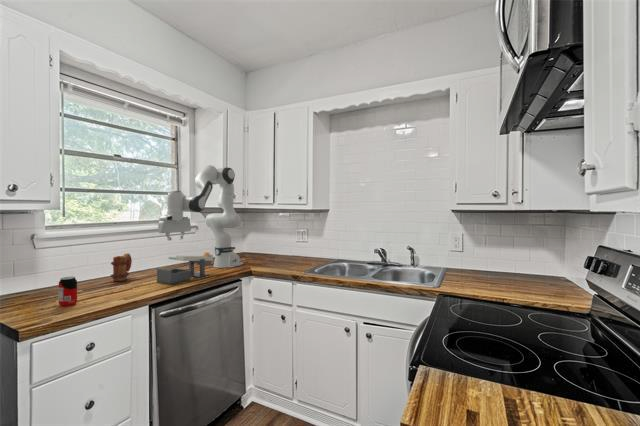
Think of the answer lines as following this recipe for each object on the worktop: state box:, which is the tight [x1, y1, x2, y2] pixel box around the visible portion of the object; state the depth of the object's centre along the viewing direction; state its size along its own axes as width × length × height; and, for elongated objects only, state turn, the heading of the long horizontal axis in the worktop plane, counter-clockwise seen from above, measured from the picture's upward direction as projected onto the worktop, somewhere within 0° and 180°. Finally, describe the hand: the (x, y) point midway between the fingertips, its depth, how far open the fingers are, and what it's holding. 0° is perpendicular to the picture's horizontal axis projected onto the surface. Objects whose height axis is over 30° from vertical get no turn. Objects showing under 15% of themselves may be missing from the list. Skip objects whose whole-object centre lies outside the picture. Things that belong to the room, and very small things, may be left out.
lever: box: [168, 254, 215, 266], centre depth 197 cm, size 22×16×6 cm
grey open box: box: [156, 267, 191, 286], centre depth 182 cm, size 13×13×8 cm
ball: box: [202, 252, 211, 257], centre depth 202 cm, size 4×4×4 cm
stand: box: [188, 259, 211, 279], centre depth 196 cm, size 8×14×11 cm, turn 60°
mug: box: [110, 253, 133, 282], centre depth 187 cm, size 15×8×15 cm, turn 179°
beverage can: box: [58, 276, 78, 307], centre depth 138 cm, size 6×6×12 cm
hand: (175, 239), depth 191 cm, fingers open, 6 cm apart
